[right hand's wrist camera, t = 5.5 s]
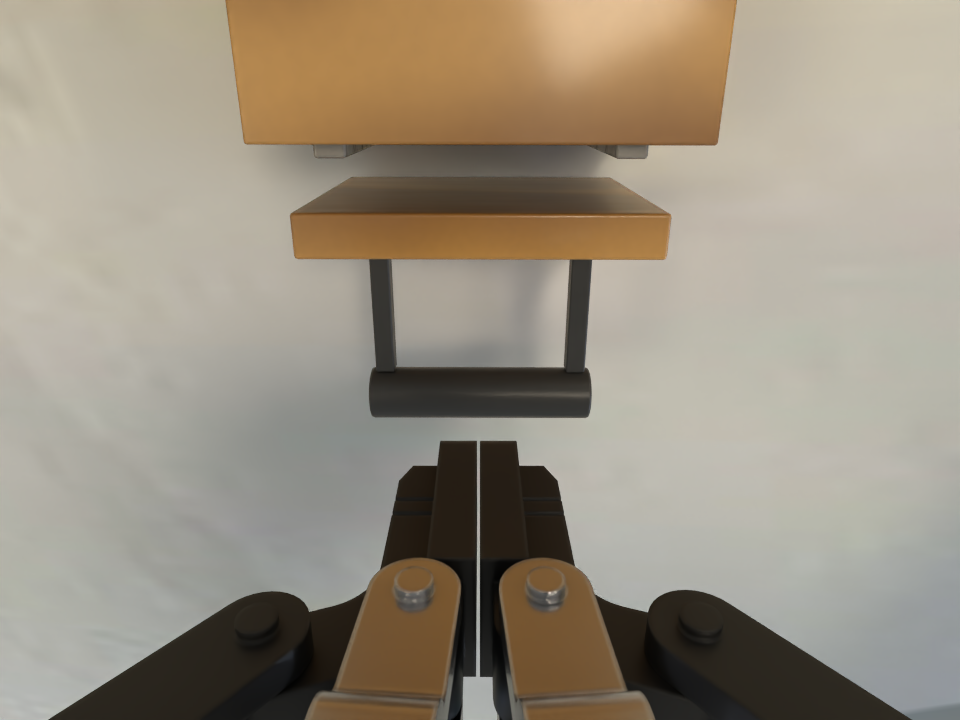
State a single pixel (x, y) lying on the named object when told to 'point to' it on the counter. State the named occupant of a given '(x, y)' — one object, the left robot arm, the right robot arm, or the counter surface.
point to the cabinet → (481, 71)
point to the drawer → (480, 235)
